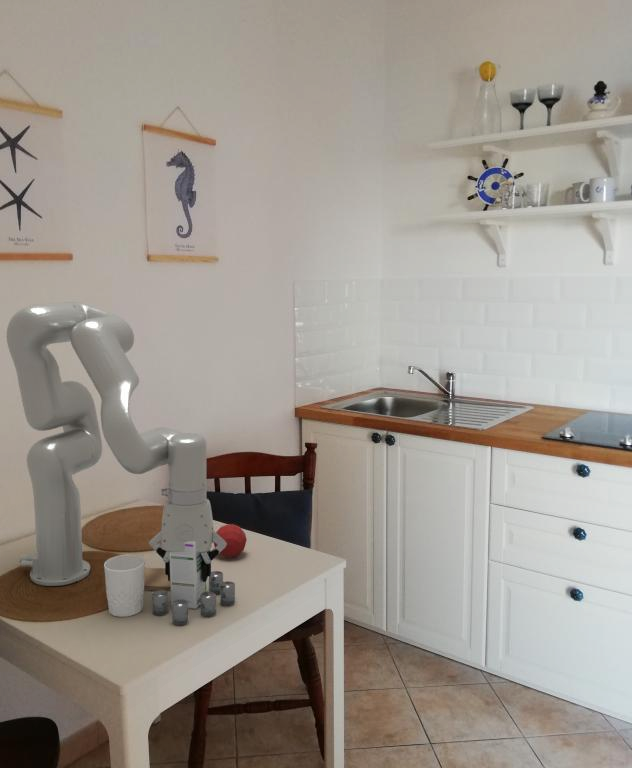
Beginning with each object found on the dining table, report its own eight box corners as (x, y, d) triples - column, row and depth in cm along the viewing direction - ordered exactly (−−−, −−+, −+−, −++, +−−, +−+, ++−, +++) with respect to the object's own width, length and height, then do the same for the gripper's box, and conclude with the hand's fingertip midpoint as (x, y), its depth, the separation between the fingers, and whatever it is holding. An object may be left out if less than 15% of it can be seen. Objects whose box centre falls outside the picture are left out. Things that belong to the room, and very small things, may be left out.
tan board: (121, 589, 151) (120, 585, 151) (132, 571, 160) (132, 567, 160) (172, 591, 151) (172, 586, 151) (181, 572, 160) (181, 568, 160)
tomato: (232, 528, 164) (232, 511, 171) (206, 547, 165) (206, 529, 172) (253, 550, 167) (252, 533, 174) (227, 569, 168) (227, 550, 175)
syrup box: (196, 609, 143) (196, 541, 141) (169, 606, 144) (168, 538, 142) (206, 596, 149) (206, 531, 146) (180, 593, 150) (179, 528, 147)
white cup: (124, 622, 138) (123, 574, 136) (97, 611, 142) (95, 564, 140) (154, 606, 144) (153, 560, 143) (126, 596, 148) (125, 551, 147)
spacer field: (146, 625, 137) (145, 605, 136) (169, 580, 156) (169, 563, 155) (227, 627, 137) (227, 608, 136) (240, 582, 156) (240, 565, 155)
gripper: (139, 499, 139) (141, 585, 142) (227, 502, 139) (227, 588, 142) (149, 487, 147) (151, 569, 150) (233, 490, 146) (232, 572, 149)
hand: (188, 577), depth 146 cm, fingers closed on syrup box, 6 cm apart
